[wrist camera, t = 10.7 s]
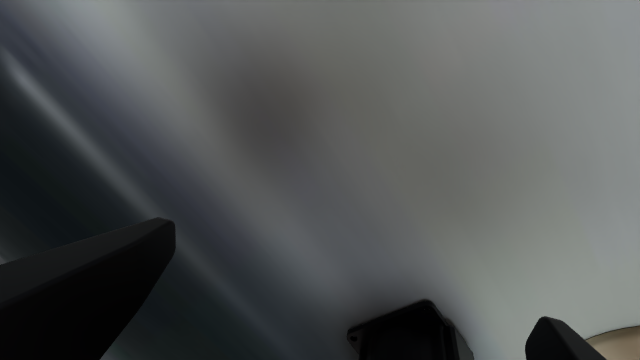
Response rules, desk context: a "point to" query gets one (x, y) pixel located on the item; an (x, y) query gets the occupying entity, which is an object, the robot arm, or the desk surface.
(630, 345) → the well tray
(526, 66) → the desk surface
